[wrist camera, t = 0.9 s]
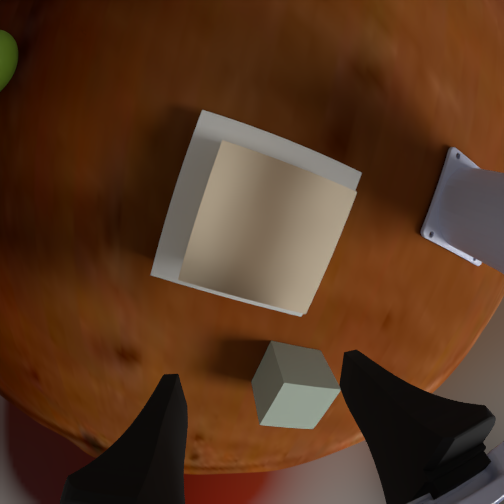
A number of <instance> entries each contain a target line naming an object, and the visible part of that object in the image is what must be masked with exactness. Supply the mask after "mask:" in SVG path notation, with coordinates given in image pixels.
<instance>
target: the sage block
mask: <svg viewBox="0 0 504 504" xmlns="http://www.w3.org/2000/svg"><path fill="white" fill-rule="evenodd" d="M251 383H252V388H253V393H254V399H255V404H256V409H257V414H258V419H259V424H260V425H266V426H276V427H288V428H303V429H313V428H314V427H315V426H316V424H317V423H318V422H319V420H320V419H321V418H322V416H323V415H324V413H325V412H326V411H327V409H328V408H329V406H330V405H331V404H332V402H333V401H334V399H335V398H336V396H337V395H338V393H339V392H340V390H341V388H340V387H339V385H338V383H337V381H336V379H335V377H334V375H333V373H332V371H331V369H330V367H329V366H328V364H327V362H326V360H325V358H324V356H323V354H322V352H321V350H315V349H310V348H305V347H300V346H294V345H289V344H285V343H280V342H275V341H271V342H270V344H269V346H268V348H267V350H266V352H265V354H264V356H263V359H262V361H261V363H260V365H259V367H258V369H257V371H256V373H255V375H254V377H253V379H252V381H251Z"/></svg>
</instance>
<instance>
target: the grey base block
mask: <svg viewBox="0 0 504 504" xmlns="http://www.w3.org/2000/svg"><path fill="white" fill-rule="evenodd" d="M222 140H224V141H227V142H230V143H233V144H236V145H239V146H242V147H245V148H248V149H251V150H253V151H256V152H259V153H262V154H265V155H267V156H270V157H273V158H276V159H278V160H281V161H284V162H286V163H289V164H291V165H294V166H297V167H299V168H302V169H304V170H307V171H309V172H312V173H314V174H317V175H319V176H321V177H324V178H326V179H329V180H331V181H333V182H336V183H338V184H340V185H343V186H345V187H347V188H349V189H352V190H354V191H355V190H356V187H357V185H358V182H359V179H360V177H361V174H362V173H361V172H359V171H357V170H355V169H353V168H351V167H349V166H347V165H345V164H342V163H340V162H338V161H336V160H334V159H332V158H329V157H327V156H325V155H323V154H320V153H318V152H316V151H313V150H311V149H309V148H306V147H304V146H302V145H299V144H297V143H294V142H292V141H289V140H287V139H284V138H282V137H279V136H277V135H274V134H271V133H269V132H266V131H263V130H261V129H258V128H255V127H253V126H250V125H247V124H244V123H241V122H238V121H235V120H233V119H230V118H227V117H224V116H220V115H217V114H214V113H211V112H208V111H205V110H202V112H201V114H200V117H199V120H198V122H197V125H196V128H195V131H194V133H193V136H192V139H191V142H190V144H189V147H188V150H187V153H186V156H185V159H184V162H183V165H182V168H181V171H180V174H179V177H178V180H177V183H176V186H175V189H174V193H173V196H172V199H171V202H170V206H169V209H168V212H167V216H166V219H165V223H164V226H163V230H162V233H161V237H160V241H159V244H158V248H157V252H156V256H155V260H154V264H153V267H152V272H151V275H152V276H155V277H158V278H162V279H165V280H168V281H172V282H175V283H178V284H182V285H185V286H188V287H192V288H195V289H199V290H202V291H206V292H209V293H213V294H216V295H220V296H224V297H227V298H231V299H234V300H238V301H242V302H246V303H249V304H253V305H257V306H261V307H265V308H268V309H272V310H276V311H280V312H284V313H288V314H292V315H296V316H300V317H302V315H303V313H299V312H295V311H290V310H286V309H282V308H278V307H274V306H271V305H267V304H263V303H259V302H255V301H251V300H247V299H244V298H240V297H236V296H233V295H229V294H225V293H222V292H218V291H214V290H211V289H207V288H204V287H200V286H197V285H193V284H190V283H186V282H183V281H179V280H178V278H179V274H180V270H181V267H182V263H183V260H184V256H185V253H186V249H187V246H188V243H189V239H190V236H191V233H192V229H193V226H194V223H195V220H196V216H197V213H198V210H199V207H200V204H201V201H202V198H203V195H204V192H205V189H206V186H207V183H208V180H209V177H210V174H211V171H212V168H213V165H214V162H215V159H216V156H217V153H218V151H219V148H220V145H221V142H222Z"/></svg>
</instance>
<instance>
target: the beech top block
mask: <svg viewBox="0 0 504 504" xmlns="http://www.w3.org/2000/svg"><path fill="white" fill-rule="evenodd" d="M356 194H357V192H356V191H354V190H352V189H349V188H347V187H345V186H343V185H340V184H338V183H336V182H333V181H331V180H329V179H326V178H324V177H321V176H319V175H317V174H314V173H312V172H309V171H307V170H304V169H302V168H299V167H297V166H294V165H291V164H289V163H286V162H284V161H281V160H278V159H276V158H273V157H270V156H267V155H265V154H262V153H259V152H256V151H253V150H251V149H248V148H245V147H242V146H239V145H236V144H233V143H230V142H227V141H224V140H222V142H221V145H220V148H219V151H218V153H217V156H216V159H215V162H214V165H213V168H212V171H211V174H210V177H209V180H208V183H207V186H206V189H205V192H204V195H203V198H202V201H201V204H200V207H199V210H198V213H197V216H196V220H195V223H194V226H193V229H192V233H191V236H190V239H189V243H188V246H187V249H186V253H185V256H184V260H183V263H182V267H181V270H180V274H179V278H178V280H179V281H183V282H186V283H190V284H193V285H197V286H200V287H204V288H207V289H211V290H214V291H218V292H222V293H225V294H229V295H233V296H236V297H240V298H244V299H247V300H251V301H255V302H259V303H263V304H267V305H271V306H274V307H278V308H282V309H286V310H290V311H295V312H299V313H303V314H306V313H307V310H308V308H309V306H310V304H311V302H312V300H313V297H314V295H315V293H316V291H317V289H318V286H319V284H320V282H321V280H322V277H323V275H324V273H325V270H326V268H327V266H328V264H329V261H330V259H331V256H332V254H333V252H334V249H335V247H336V245H337V242H338V240H339V237H340V235H341V232H342V230H343V227H344V225H345V222H346V220H347V217H348V215H349V212H350V210H351V207H352V205H353V202H354V199H355V197H356Z"/></svg>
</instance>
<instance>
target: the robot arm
mask: <svg viewBox="0 0 504 504" xmlns="http://www.w3.org/2000/svg"><path fill="white" fill-rule="evenodd" d="M456 154H457V157H456ZM430 232H431V235H430V236H429V234H430ZM421 236H422V237H424V238H426V239H428V240H430V241H432V242H434V243H436V244H438V245H440V246H442V247H444V248H445V249H447V250H449V251H451V252H453V253H455V254H457V255H459V256H460V257H462V258H464V259H466V260H468V261H469V262H471V263H473V264H475V265H477V266H480V265H481V263H482V262H483V263H485V264H487V265H489V266H491V267H492V268H494V269H496V270H498V271H500V272H502V273H503V274H504V173H500V172H495V171H489V170H484V169H480V168H479V167H478V166H477V165H476V164H474V163H473V162H472V161H471V160H470V159H469V158H467V157H466V156H465V155H464V154H463V153H461V152H460V151H459V150H458V149H456V148H455V147H450V148H449V150H448V153H447V156H446V160H445V163H444V166H443V170H442V173H441V176H440V179H439V182H438V185H437V188H436V191H435V194H434V197H433V199H432V202H431V205H430V208H429V210H428V213H427V216H426V218H425V221H424V224H423V226H422V229H421ZM340 388H341V391H342V394H343V397H344V399H345V402H346V404H347V406H348V408H349V410H350V412H351V414H352V415H353V417H354V419H355V421H356V423H357V425H358V427H359V428H360V430H361V432H362V434H363V436H364V438H365V440H366V442H367V444H368V446H369V449H370V451H371V454H372V457H373V459H374V462H375V465H376V468H377V471H378V474H379V477H380V480H381V484H382V487H383V491H384V495H385V499H386V503H387V504H499V503H500V502H501V501H502V500H503V499H504V441H503V442H502V443H501V444H499V445H498V446H496V447H495V448H494V449H492V450H491V451H490V452H489V453H488V454H487V455H486V454H485V452H484V450H485V449H486V446H485V445H484V444H483V441H484V440H485V438H486V437H487V436H488V434H489V433H490V431H491V430H492V428H493V426H494V423H495V416H494V415H493V414H492V413H491V412H490V411H489V409H488V408H487V407H486V406H485V405H476V404H469V403H463V402H458V401H454V400H450V399H446V398H443V397H440V396H437V395H434V394H431V393H429V392H426V391H424V390H422V389H419V388H417V387H415V386H413V385H411V384H409V383H407V382H405V381H404V380H402V379H400V378H398V377H397V376H395V375H393V374H392V373H390V372H389V371H387V370H385V369H384V368H382V367H381V366H379V365H378V364H377V363H375V362H374V361H372V360H371V359H369V358H368V357H367V356H365V355H364V354H362V353H361V352H359V351H358V350H353V351H348V352H344V357H343V365H342V372H341V378H340ZM187 428H188V416H187V403H186V400H185V397H184V393H183V390H182V386H181V383H180V379H179V375H178V374H164V375H163V376H162V378H161V380H160V382H159V384H158V385H157V387H156V389H155V391H154V392H153V394H152V395H151V397H150V399H149V400H148V402H147V403H146V405H145V406H144V408H143V409H142V411H141V412H140V414H139V415H138V416H137V418H136V419H135V420H134V422H133V423H132V424H131V425H130V427H129V428H128V429H127V430H126V431H125V432H124V434H123V435H122V436H121V437H120V438H119V439H118V440H117V441H116V442H115V443H114V444H113V445H112V446H111V447H110V448H108V449H107V450H106V451H105V452H104V453H103V454H101V455H100V456H99V457H97V458H96V459H95V460H94V461H92V462H91V463H89V464H88V465H86V466H85V467H83V468H81V469H80V470H78V471H76V472H74V473H73V474H71V475H69V476H68V477H67V480H66V482H65V485H64V489H63V492H62V496H61V500H60V504H185V497H184V478H183V473H184V458H185V448H186V438H187Z"/></svg>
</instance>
